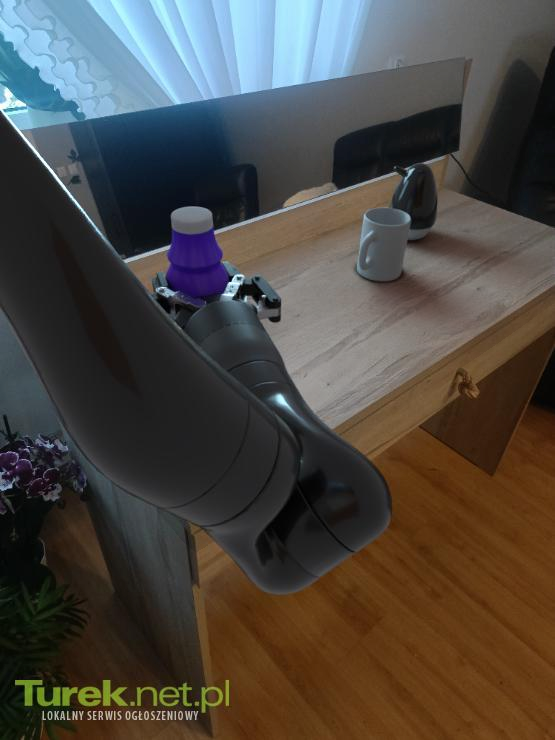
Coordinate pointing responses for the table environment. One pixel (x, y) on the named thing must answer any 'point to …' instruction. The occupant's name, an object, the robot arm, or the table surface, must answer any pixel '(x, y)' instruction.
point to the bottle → (195, 254)
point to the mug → (383, 243)
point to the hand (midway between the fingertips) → (193, 274)
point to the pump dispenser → (417, 198)
